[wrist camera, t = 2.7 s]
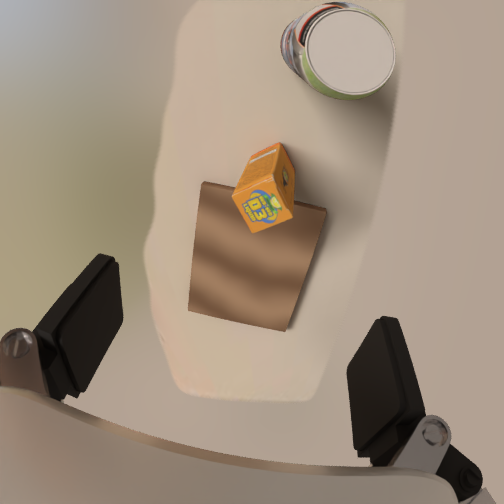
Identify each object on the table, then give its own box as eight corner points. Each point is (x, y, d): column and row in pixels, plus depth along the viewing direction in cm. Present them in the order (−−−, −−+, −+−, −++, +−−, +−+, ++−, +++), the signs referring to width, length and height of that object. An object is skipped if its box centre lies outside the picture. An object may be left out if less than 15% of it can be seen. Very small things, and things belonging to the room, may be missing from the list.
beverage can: (317, 6, 20) (338, -43, 10) (373, 67, 22) (431, 62, 12) (264, 46, 22) (247, 21, 12) (321, 107, 25) (345, 124, 15)
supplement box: (246, 156, 28) (227, 193, 19) (280, 140, 27) (277, 170, 18) (263, 187, 29) (251, 236, 21) (296, 172, 28) (300, 217, 20)
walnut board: (203, 181, 30) (201, 184, 29) (325, 208, 30) (326, 212, 29) (189, 305, 38) (187, 310, 37) (285, 326, 38) (285, 331, 37)
